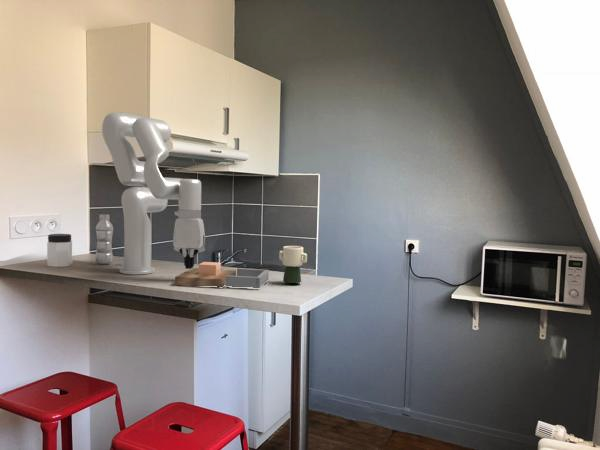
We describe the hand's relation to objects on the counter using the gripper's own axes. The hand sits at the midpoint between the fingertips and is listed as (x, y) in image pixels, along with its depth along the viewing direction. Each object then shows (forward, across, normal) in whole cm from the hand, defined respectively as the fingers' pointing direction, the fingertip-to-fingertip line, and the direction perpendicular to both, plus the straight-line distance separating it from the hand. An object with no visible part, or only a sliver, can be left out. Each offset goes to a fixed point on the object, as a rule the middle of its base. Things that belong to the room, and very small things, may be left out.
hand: (189, 268), depth 173 cm
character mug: (+5, +35, +5) cm, 36 cm away
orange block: (+2, +7, 0) cm, 7 cm away
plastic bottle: (+4, -44, +24) cm, 50 cm away
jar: (+4, -58, +16) cm, 60 cm away
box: (+5, +20, 0) cm, 21 cm away
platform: (+5, +6, 0) cm, 8 cm away
